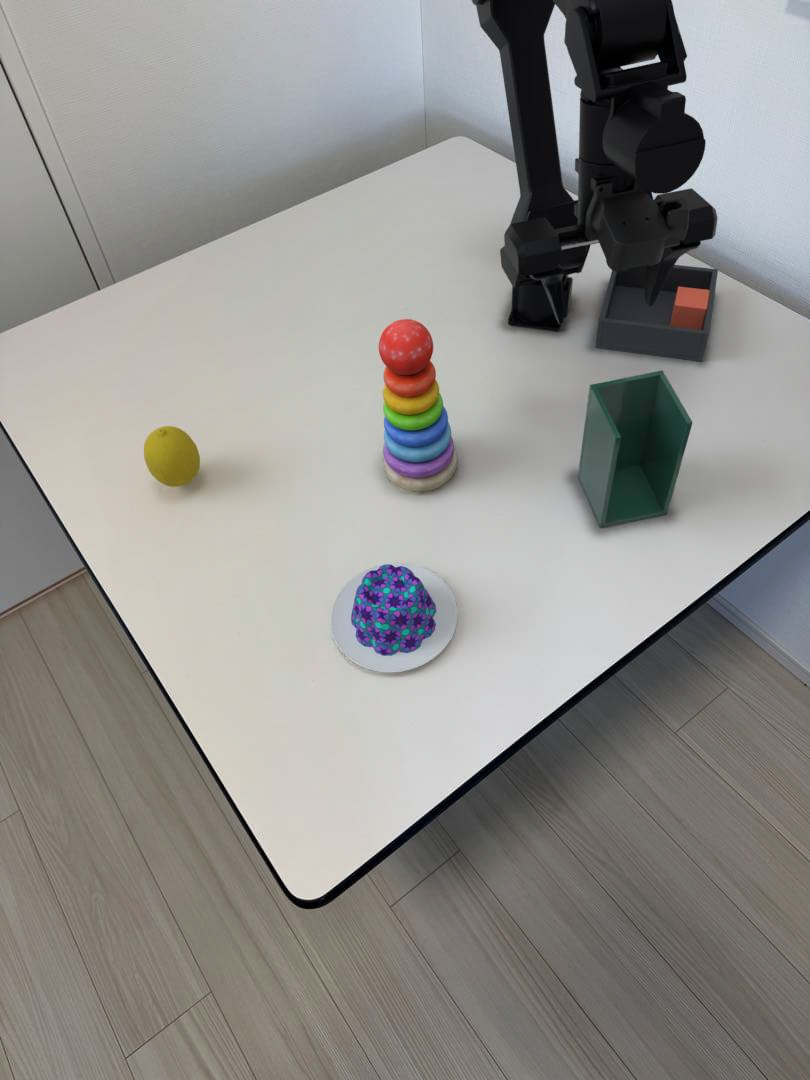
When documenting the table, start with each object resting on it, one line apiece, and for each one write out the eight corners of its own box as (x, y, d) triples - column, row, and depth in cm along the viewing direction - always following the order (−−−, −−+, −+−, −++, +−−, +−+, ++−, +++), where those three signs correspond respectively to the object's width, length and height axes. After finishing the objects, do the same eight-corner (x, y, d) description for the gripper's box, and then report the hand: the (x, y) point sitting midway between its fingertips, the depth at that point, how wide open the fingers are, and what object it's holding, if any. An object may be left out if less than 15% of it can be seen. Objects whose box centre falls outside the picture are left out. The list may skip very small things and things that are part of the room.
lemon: (167, 508, 88) (142, 458, 81) (152, 475, 91) (127, 424, 84) (215, 488, 89) (194, 437, 83) (199, 456, 92) (177, 404, 86)
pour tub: (577, 477, 86) (589, 384, 75) (641, 464, 86) (662, 370, 76) (599, 528, 81) (615, 437, 71) (667, 514, 82) (693, 422, 71)
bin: (595, 347, 97) (598, 320, 94) (611, 285, 104) (615, 258, 101) (701, 361, 94) (708, 334, 91) (710, 296, 101) (718, 269, 98)
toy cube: (669, 329, 97) (674, 305, 94) (672, 311, 99) (678, 286, 96) (700, 333, 96) (706, 308, 94) (703, 314, 98) (709, 289, 96)
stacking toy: (466, 447, 89) (461, 306, 74) (445, 502, 85) (435, 364, 70) (399, 434, 92) (381, 294, 77) (374, 487, 87) (350, 349, 72)
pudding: (315, 664, 75) (305, 635, 71) (350, 559, 82) (342, 527, 78) (444, 686, 73) (441, 658, 68) (468, 576, 79) (467, 544, 75)
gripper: (533, 208, 65) (536, 374, 76) (759, 163, 66) (730, 334, 77) (499, 161, 73) (506, 317, 84) (700, 121, 74) (681, 282, 85)
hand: (604, 313), depth 82 cm, fingers open, 9 cm apart
